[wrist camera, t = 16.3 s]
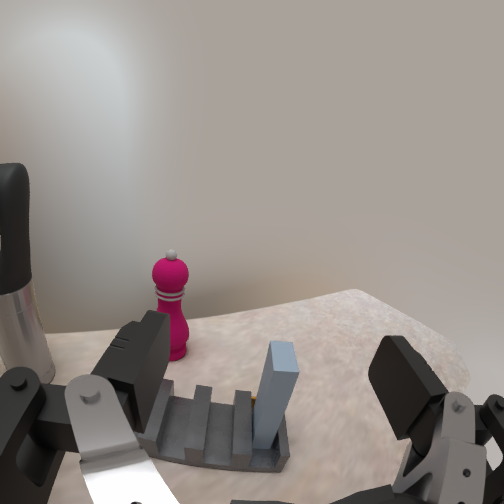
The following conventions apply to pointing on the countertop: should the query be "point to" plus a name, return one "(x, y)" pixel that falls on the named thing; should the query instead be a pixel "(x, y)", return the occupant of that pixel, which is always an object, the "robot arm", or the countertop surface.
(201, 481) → the countertop surface
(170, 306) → the pepper mill
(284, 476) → the countertop surface
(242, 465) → the rack
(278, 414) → the panel
